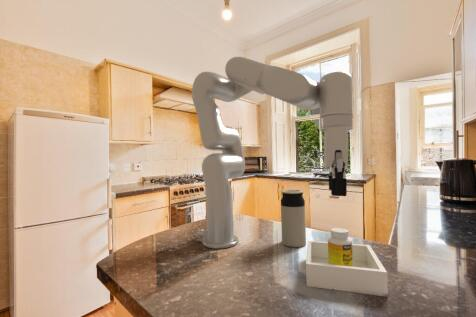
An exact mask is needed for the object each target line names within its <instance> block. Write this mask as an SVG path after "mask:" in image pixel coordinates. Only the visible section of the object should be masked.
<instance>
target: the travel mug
mask: <svg viewBox="0 0 476 317" xmlns="http://www.w3.org/2000/svg"><path fill="white" fill-rule="evenodd" d="M280 192H281V195H282V197H281V200H280V214H281V215H280V218H281V242H282V244H283V245H284V246H286V247H289V248H290V247H292V248H300V247H303V246H305V245H306V244H307V236H306V234H307V232H306V230H307V229H306V205H305V204H306V201H305V199H304V197H303V194H304V190H303V189H282V190H281V191H280Z"/></svg>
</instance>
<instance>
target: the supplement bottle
mask: <svg viewBox="0 0 476 317" xmlns="http://www.w3.org/2000/svg"><path fill="white" fill-rule="evenodd" d="M327 242H328V264H331V265H341V266H350V267H353V260H352V244H353V240H352V239H351V238H350V237H349V230H348V229H345V228H341V227H334V228H333V227H332V228H331V230H330V235H329V236H328V237H327Z"/></svg>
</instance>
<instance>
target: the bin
mask: <svg viewBox="0 0 476 317" xmlns="http://www.w3.org/2000/svg"><path fill="white" fill-rule="evenodd" d="M306 244H307V245H306V246H307V247H306V258H305V259H306V260H305V274H306V275H305V277H306V278H305V279H306V280H305V281H306V287H311V288H319V289H326V290H332V289H334V291H340V292H348V293H357V294H363V295H369V296H379V297H385V298H386V297H389V289H388V288H389V286H388V272H387V269H386V268H385V267H384V265H383V264H382V262H381V260H380V258H379V257H378V255H377V254H376V252H375V251H374V250H373V248H372V246H371V245H370V244H360V243H352V260H353V267H350V266H341V265H331V264H328V241H320V240H318V241H317V240H307V243H306Z"/></svg>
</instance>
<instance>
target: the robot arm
mask: <svg viewBox="0 0 476 317" xmlns="http://www.w3.org/2000/svg"><path fill="white" fill-rule="evenodd" d="M224 67H225V69H224V70H225V75H226V77H225V76H224V75H221V74H219V73H216V72H212V71H211V72H210V71H202V72H201V73H198V75H196V77H195V79H194V81H193V83H192V89H191V97H192V103H193V106H194V109H195V113H196V116H197V121H198V128H199V133H200V138H201V143H202V146H203V147H204V148H205V149H206V150H209V151H216V153H211V154H209V155H207V156H205V157H204V159H203V161H202V164H201V172H202V177H203V180H204V187H205V188H204V189H205V216H206V217H205V218H206V221H205V222H206V225H205V226H206V229H204V228H198V229H197V232H196V234H197V237H203V238H202V245H203V246H204V247H206V248H210V249H226V248H231V247H234V246H236V245H237V244H238V243H239V237H238V236H237V235H235V234H234V233H235V232H234V203H233V202H234V201H233V190H232V189H233V188H232V186H231V183H230V181H229V180H230V179H232V180H233V179H238V178H241V176H242V175H243V174H244V173H245V170H246V159H245V153H244V148H243V143H242V139H241V136H240V134H239V131H238V130H237V129H235V128H234V127H232V126H227V125H224V123H223V121H222V116H221V111H220V108H219V106H218V105H217V103H216V102H215V100H218V101H222V102H224V103H225V102H226V103H231V102H234V101H237V100H239V99H241V98H242V97H244V96H246V95H248V94H249V93H251V92H252V91H253V92H256V93H258V94H261V95H268V96H270V97H273V98H275V99H277V100H280V101H282V102H284V103H287V104H290V105H292V106H295V107H297V108H300V109H302V110H305V111H312V110H317V109H319V131H320V132H324V135H323V167H324V169H325V170H327V171H328V170H329V174H328V190H329V191H330V194H331V196H333V197H347V195H348V194H347V192H348V188H347V176H346V174H347V173H346V170H347V169H348V167H349V166H348V164H349V132H348V131H351V130H353V129H354V127H353V126H354V125H353V124H354V123H353V122H354V120H353V116H354V115H353V80H352V79H353V77H352V75H351V74H350V73H349V72H347V71H334V72H333V71H332V72H330V73H327V74H324V75H323V76H321V78H320V79H319V81H315V80H312V79H311V78H310V77H308V76H307V75H305V74H303V73H300V72H297V71H294V70H290V69H288V68H284V67H280V66H276V65H269V64H266V63H264V62H259V61H257V60H253V59H251V58H246V57H243V56H233V57H231V58H230V59H229V60H228V61H227V62H226V65H225V66H224ZM217 151H219V152H220V153H219V152H217Z"/></svg>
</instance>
